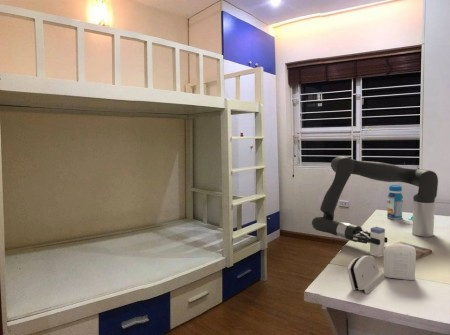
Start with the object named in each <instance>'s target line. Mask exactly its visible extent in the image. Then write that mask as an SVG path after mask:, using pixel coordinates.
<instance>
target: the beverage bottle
mask: <svg viewBox="0 0 450 335" xmlns="http://www.w3.org/2000/svg"><path fill="white" fill-rule="evenodd" d="M388 188H389V189H388V190H389V192H388V194H387V200H386V203H387V207H386V208H387V212H386V213H387V214H386V217H387V219H391V220H401V219H402V218H403V203H404V200H403V198H404V197H403V196H404V195H403V194H402V190H403V189H402V188H403V187H402V185H399V184H392V185H391V184H389V187H388Z"/></svg>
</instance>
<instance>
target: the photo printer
mask: <svg viewBox="0 0 450 335" xmlns="http://www.w3.org/2000/svg"><path fill="white" fill-rule="evenodd" d="M384 247H385V249H384V255H383V270H382V271H383V272H382V273H383V275H384V278H391V279H399V280H408V281H415V279H416V265H417V264H416V263H417V262H416V260H417V259H416V251H415V248H414V247H412V246H409V245H405V244H394V243H389V244H385V245H384Z"/></svg>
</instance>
